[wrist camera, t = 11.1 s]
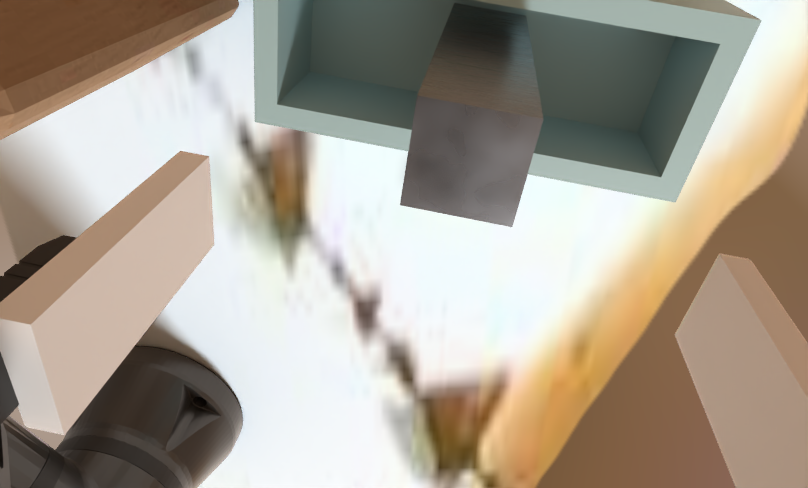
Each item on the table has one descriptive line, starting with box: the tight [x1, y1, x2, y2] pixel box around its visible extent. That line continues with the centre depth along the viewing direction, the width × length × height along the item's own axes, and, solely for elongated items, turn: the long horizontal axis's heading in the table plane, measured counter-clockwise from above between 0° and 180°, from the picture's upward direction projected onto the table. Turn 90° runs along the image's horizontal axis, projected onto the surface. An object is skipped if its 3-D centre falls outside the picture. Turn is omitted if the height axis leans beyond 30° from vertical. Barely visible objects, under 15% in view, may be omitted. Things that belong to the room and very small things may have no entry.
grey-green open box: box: [253, 0, 761, 202], centre depth 30 cm, size 22×9×7 cm, turn 83°
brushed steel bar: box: [400, 3, 543, 227], centre depth 25 cm, size 4×4×16 cm
